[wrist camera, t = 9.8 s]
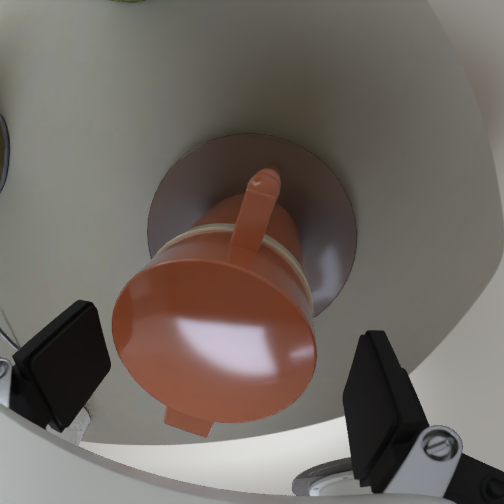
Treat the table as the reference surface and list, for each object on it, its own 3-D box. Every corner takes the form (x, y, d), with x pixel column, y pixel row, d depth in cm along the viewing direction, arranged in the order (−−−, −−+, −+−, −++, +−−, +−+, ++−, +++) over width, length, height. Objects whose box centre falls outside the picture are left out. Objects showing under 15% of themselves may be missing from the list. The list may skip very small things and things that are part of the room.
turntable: (365, 302, 21) (369, 312, 19) (194, 337, 24) (189, 347, 22) (324, 111, 17) (327, 108, 15) (130, 173, 19) (120, 175, 18)
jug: (221, 145, 17) (132, 143, 6) (329, 181, 17) (395, 230, 7) (182, 293, 20) (109, 406, 10) (272, 323, 21) (260, 457, 10)
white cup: (42, 383, 31) (7, 426, 21) (75, 390, 29) (38, 442, 20) (68, 420, 33) (40, 462, 24) (103, 428, 32) (75, 478, 22)
